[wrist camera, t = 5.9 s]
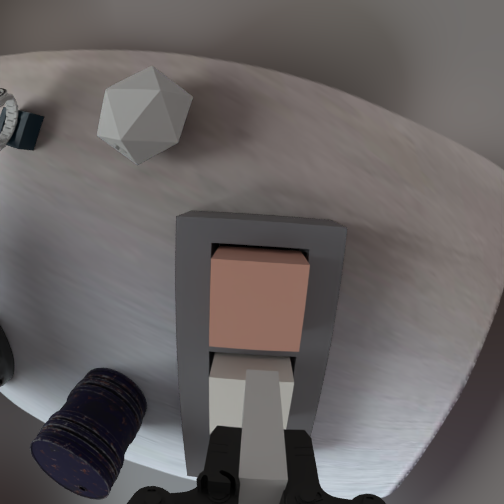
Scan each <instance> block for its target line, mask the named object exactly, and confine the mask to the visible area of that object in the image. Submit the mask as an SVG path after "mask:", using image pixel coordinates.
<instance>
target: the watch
mask: <svg viewBox="0 0 504 504" xmlns="http://www.w3.org/2000/svg"><path fill="white" fill-rule="evenodd" d="M5 103H6V104H5ZM4 104H5V105H6V107H3V110H2V113H1V116H0V151H1V150H2V149H3V148H4V147H5V146H6V145H8V146H11V147H14V148H17V149H24V150H34V147H35V144H36V140H37V137H38V134H39V131H40V128H41V125H42V122H43V119H44V116H40V115H36V114H33V113H29V112H25V111H21V110H18V105H17V102H16V99H15V98H14V96H13V95H12V94H8V93H7V90H6V89H3V88H0V107H2V106H3V105H4Z"/></svg>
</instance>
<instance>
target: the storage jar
mask: <svg viewBox="0 0 504 504" xmlns="http://www.w3.org/2000/svg"><path fill="white" fill-rule="evenodd" d="M146 410H147V403H146V399H145V397H144V395H143V393H142V391H141V390H140V389H139V387H138V386H137V385H136V384H135V383H134V382H133V381H132V380H131V379H129V378H128V377H127V376H125V375H123V374H122V373H120V372H117V371H115V370H112V369H108V368H96V369H93V370H91V371H90V372H88V373H87V375H86V376H85V377H84V378H83V379H82V380H81V381H80V382H79V383H78V384H77V385H76V386H75V388H74V389H73V390H72V391H71V392H70V394H69V396H68V398H67V402H66V403H65V404H64V406H63V407H62V408H61V409H60V411H57V412H56V413H54V414H53V415H52V416H51V417H50V418H49V421H47V422H46V423H45V424H44V426H43V427H42V428H41V430H40V432H39V434H38V435H37V437H36V438H35V439H34V440H33V441H32V443H31V444H30V451H31V454H32V456H33V458H34V460H35V461H36V463H37V464H38V466H39V467H40V468H41V469H42V470H43V471H44V472H45V473H46V474H47V475H48V476H49V477H50V478H51V479H53V480H54V481H55V482H56V483H58V484H59V485H61V486H62V487H64V488H65V489H67V490H69V491H71V492H73V493H75V494H77V495H80V496H83V497H86V498H90V499H96V500H100V499H104V498H107V496H108V495H109V493H110V491H111V487H112V486H113V484H114V482H115V481H116V479H117V477H118V475H119V473H120V469H121V468H122V466H123V461H124V454H125V452H126V450H127V448H128V446H129V444H131V443H132V441H133V440H134V438H135V437H136V434H137V432H138V431H139V429H140V426H141V424H142V419H143V417H144V416H145V413H146Z"/></svg>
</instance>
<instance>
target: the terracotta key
mask: <svg viewBox="0 0 504 504" xmlns="http://www.w3.org/2000/svg"><path fill="white" fill-rule="evenodd" d="M309 269H310V264H309V263H308V261H307V260H306V258H305V257H304V255H303V254H302V252H301V251H292V250H277V249H262V248H247V247H232V246H219V247H218V249H217V250H216V252H215V253H214V255H213V256H212V258H211V276H210V317H209V346H212V347H223V348H236V349H250V350H268V351H291V352H299V348H300V341H301V334H302V327H303V319H304V311H305V303H306V295H307V287H308V278H309Z"/></svg>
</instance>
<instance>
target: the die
mask: <svg viewBox="0 0 504 504" xmlns="http://www.w3.org/2000/svg"><path fill="white" fill-rule="evenodd" d="M192 99H193V96H191V95H190V94H189V93H188V92H186V91H185V90H184V89H182V88H181V87H180V86H179V85H177V84H176V83H175V82H173V81H172V80H171V79H169V78H168V77H167V76H165V75H164V74H163V73H161V72H160V71H159V70H157V69H156V68H155V67H153V66H150V67H148V68H146V69H144V70H142V71H140V72H138V73H135V74H133V75H131V76H129V77H127V78H125V79H124V80H122V81H120V82H118V83H116V84H114V85H112V86H110V87H108V88H107V89H106V90H105V95H104V100H103V105H102V110H101V115H100V120H99V126H98V132H97V136H98V137H99V138H101V139H102V140H103V141H105V142H106V143H108V144H109V145H110V146H112V147H113V148H114V149H116V150H117V151H119V152H120V153H121V154H123V155H124V156H125V157H127V158H128V159H130V160H131V161H132V162H134V163H135V164H136V165H139V164H141V163H143V162H145V161H146V160H148V159H150V158H152V157H153V156H155V155H157V154H159V153H160V152H162V151H164V150H166V149H168V148H170V147H171V146H173V145H175V144H177V143H178V142H179V139H180V136H181V133H182V129H183V126H184V123H185V120H186V117H187V114H188V111H189V108H190V105H191V102H192Z"/></svg>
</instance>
